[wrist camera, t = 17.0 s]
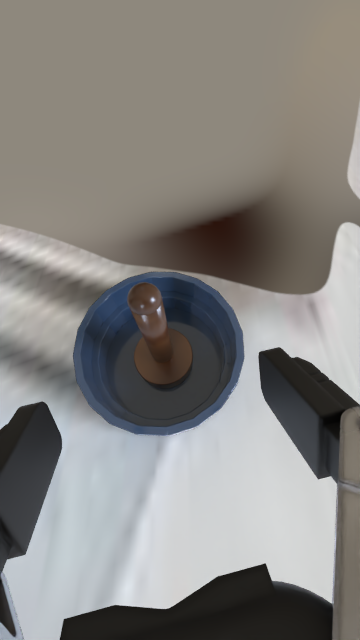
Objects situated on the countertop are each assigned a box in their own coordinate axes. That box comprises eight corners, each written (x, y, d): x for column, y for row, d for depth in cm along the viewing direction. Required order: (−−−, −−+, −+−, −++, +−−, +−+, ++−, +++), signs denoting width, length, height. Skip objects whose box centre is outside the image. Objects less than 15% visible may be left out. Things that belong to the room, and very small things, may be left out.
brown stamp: (135, 388, 25) (80, 340, 12) (140, 334, 27) (97, 248, 14) (192, 389, 24) (194, 342, 12) (192, 335, 27) (194, 248, 14)
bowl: (85, 433, 24) (57, 432, 19) (106, 300, 29) (88, 271, 24) (237, 437, 23) (250, 438, 18) (229, 300, 28) (238, 271, 23)
